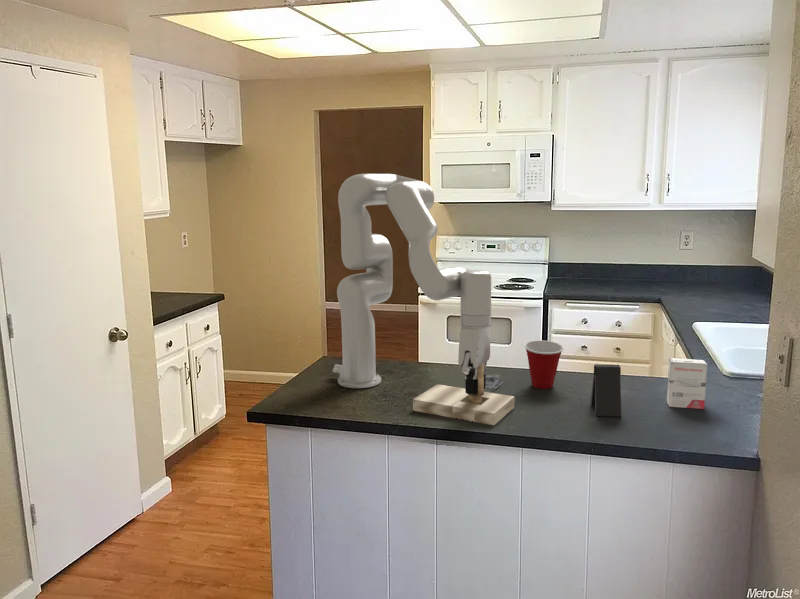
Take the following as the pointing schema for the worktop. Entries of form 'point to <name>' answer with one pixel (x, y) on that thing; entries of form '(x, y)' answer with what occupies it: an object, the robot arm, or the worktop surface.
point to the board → (463, 404)
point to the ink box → (686, 383)
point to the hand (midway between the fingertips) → (475, 390)
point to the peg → (480, 376)
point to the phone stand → (606, 391)
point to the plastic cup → (543, 362)
